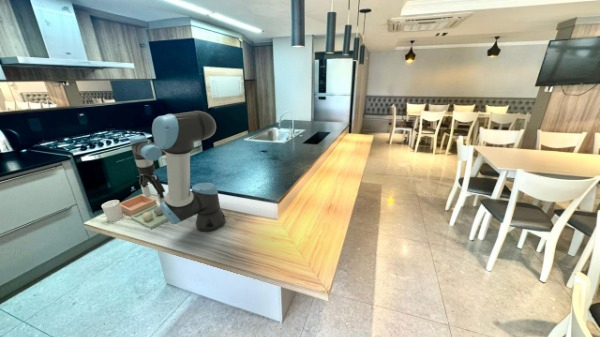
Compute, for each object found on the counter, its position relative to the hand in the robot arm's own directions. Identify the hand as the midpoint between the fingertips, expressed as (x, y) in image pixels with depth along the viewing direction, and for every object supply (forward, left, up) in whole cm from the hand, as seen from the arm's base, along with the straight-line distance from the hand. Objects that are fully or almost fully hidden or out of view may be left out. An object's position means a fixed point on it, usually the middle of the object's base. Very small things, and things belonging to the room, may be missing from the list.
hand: (155, 199), depth 130 cm
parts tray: (0, +3, -10) cm, 11 cm away
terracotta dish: (+18, +2, -10) cm, 20 cm away
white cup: (+19, +14, -10) cm, 26 cm away
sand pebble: (0, +6, -10) cm, 12 cm away
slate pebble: (0, 0, -10) cm, 10 cm away
